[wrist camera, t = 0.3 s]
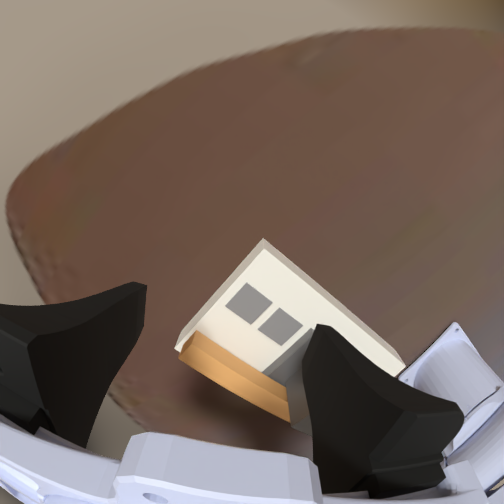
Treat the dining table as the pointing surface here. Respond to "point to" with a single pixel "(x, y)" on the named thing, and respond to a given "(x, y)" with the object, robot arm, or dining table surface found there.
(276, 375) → the plug
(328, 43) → the dining table surface
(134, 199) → the dining table surface
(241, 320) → the white flat panel
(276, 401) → the tan wooden plank
